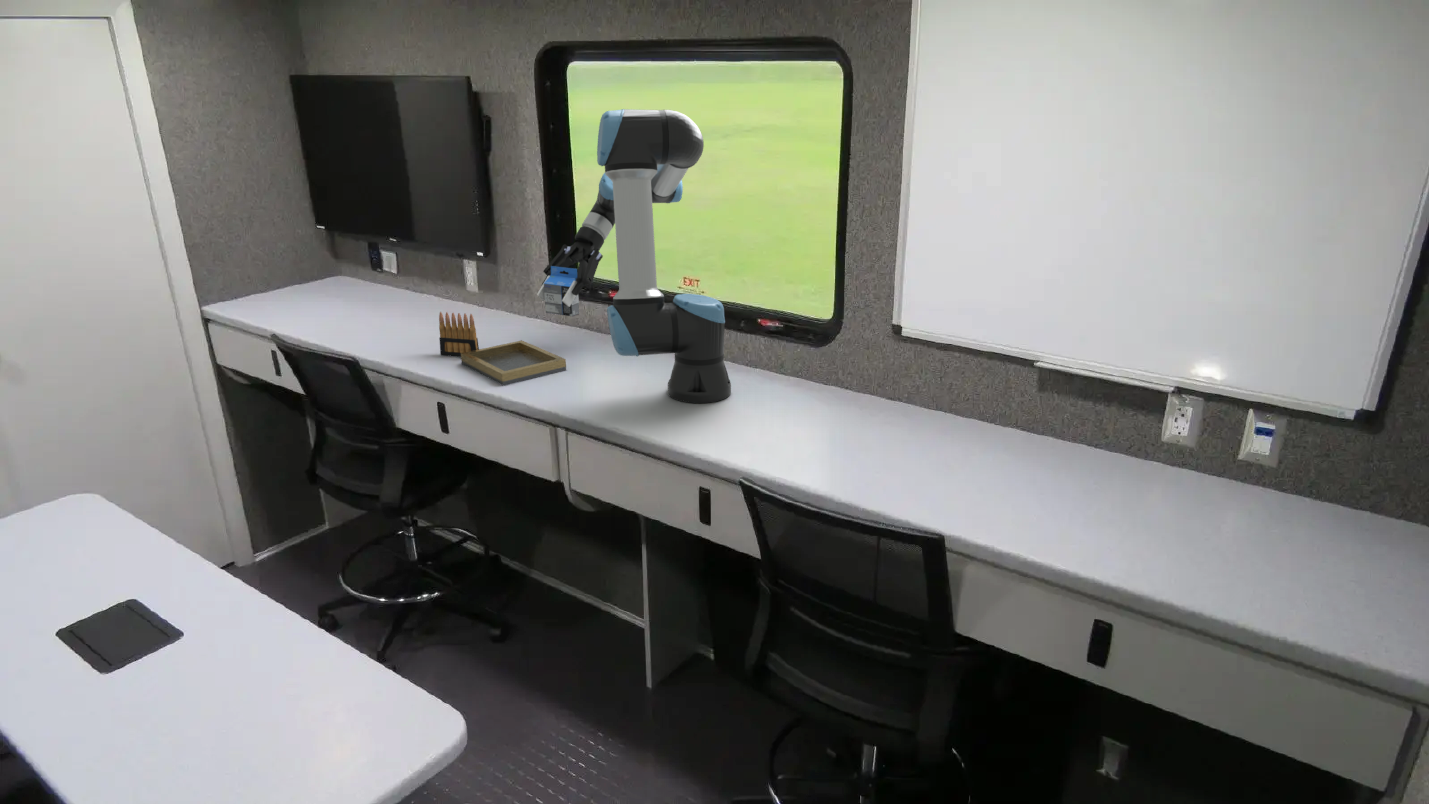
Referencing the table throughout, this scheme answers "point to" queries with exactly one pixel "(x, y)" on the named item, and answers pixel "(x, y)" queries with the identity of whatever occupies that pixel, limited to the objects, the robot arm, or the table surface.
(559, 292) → the blue and grey box
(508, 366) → the shallow wooden tray
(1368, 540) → the table surface
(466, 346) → the ammunition clip
